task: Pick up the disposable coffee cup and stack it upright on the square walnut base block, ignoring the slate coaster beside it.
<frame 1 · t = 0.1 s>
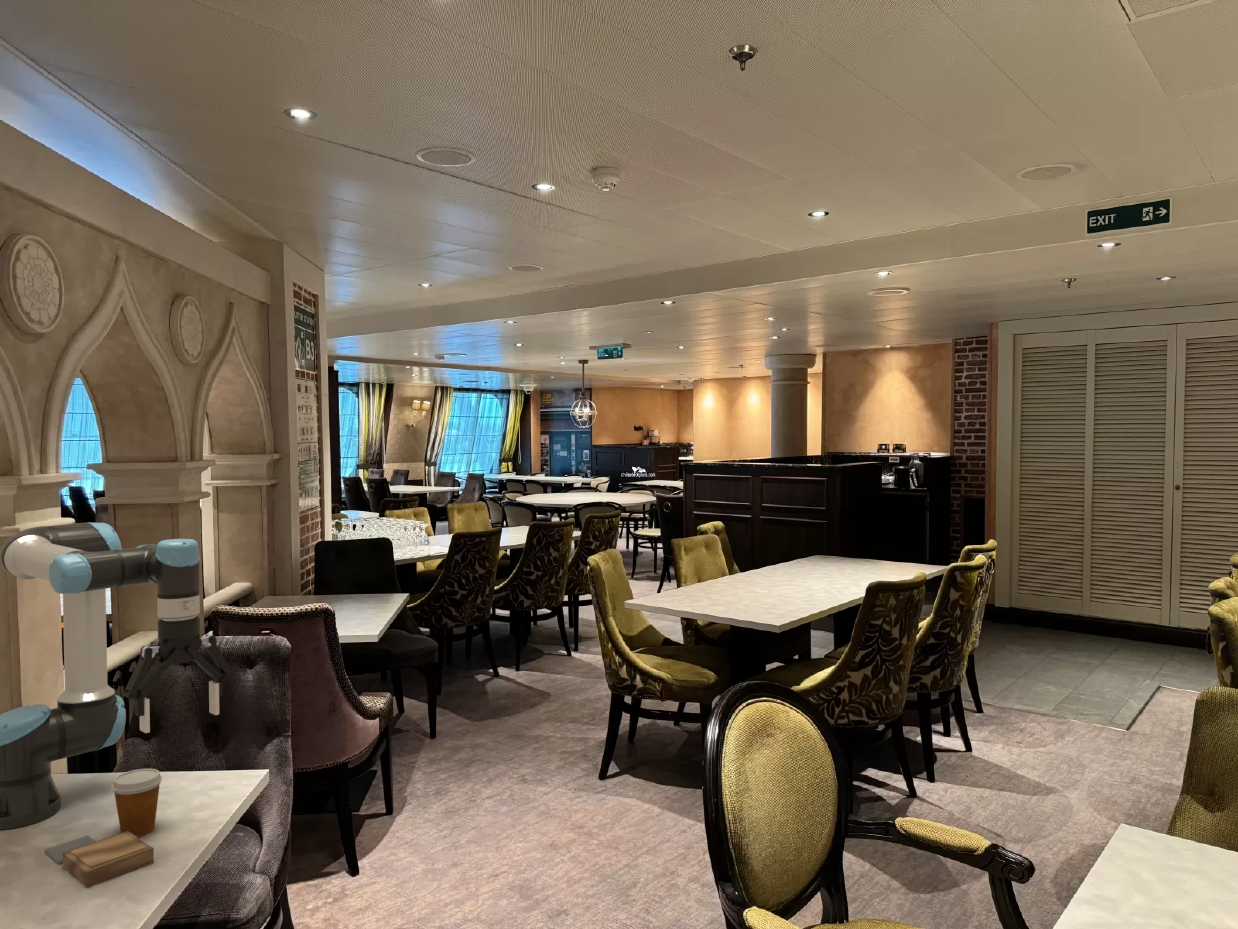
hand: (180, 722, 171), 28 cm above the table, fingers open, 13 cm apart
disposable coffee cup: (138, 832, 184), on the table
walnut base: (108, 865, 169), on the table
slate coaster: (73, 850, 175), on the table
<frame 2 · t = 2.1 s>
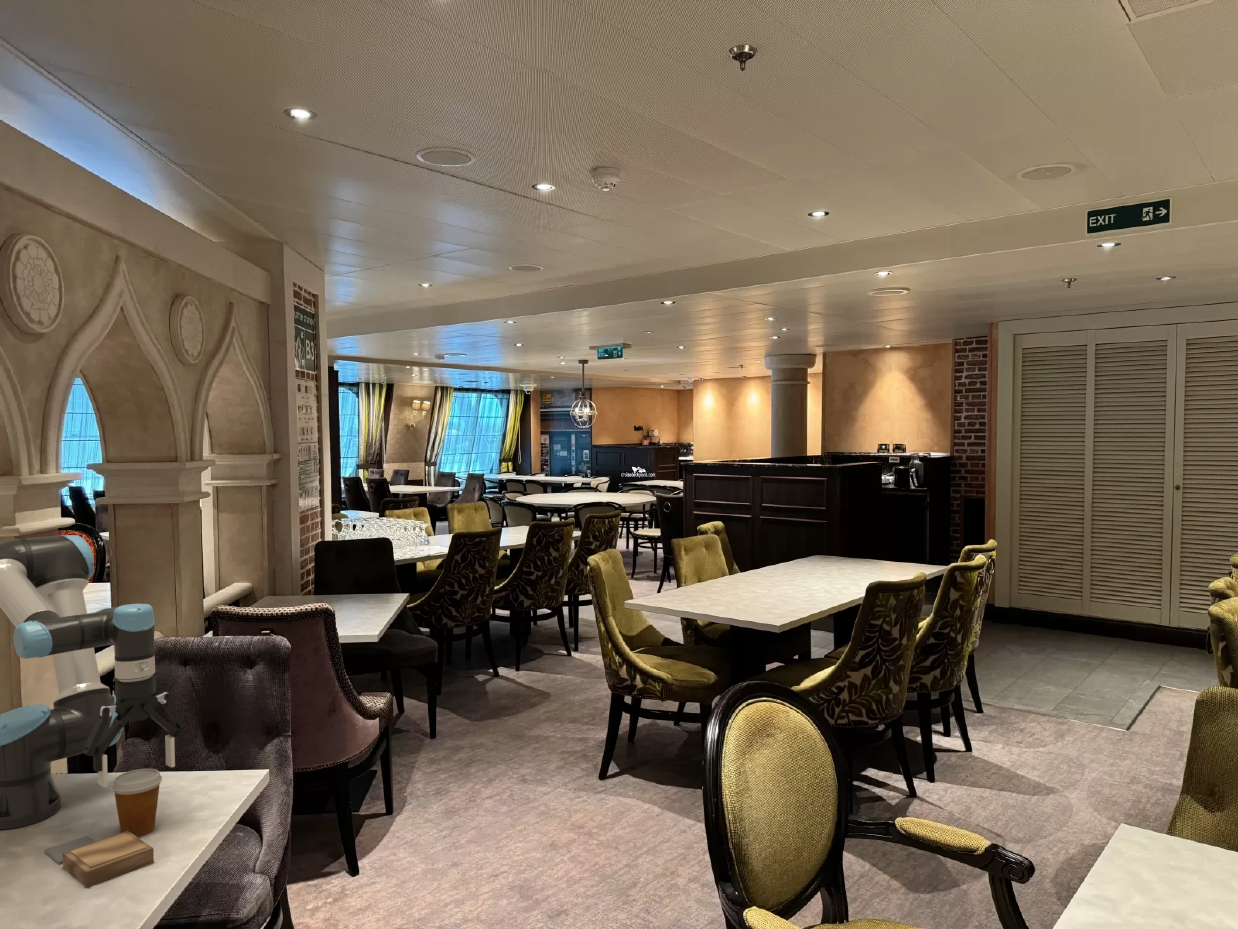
hand: (137, 775, 183), 12 cm above the table, fingers open, 13 cm apart
nothing on the table moved.
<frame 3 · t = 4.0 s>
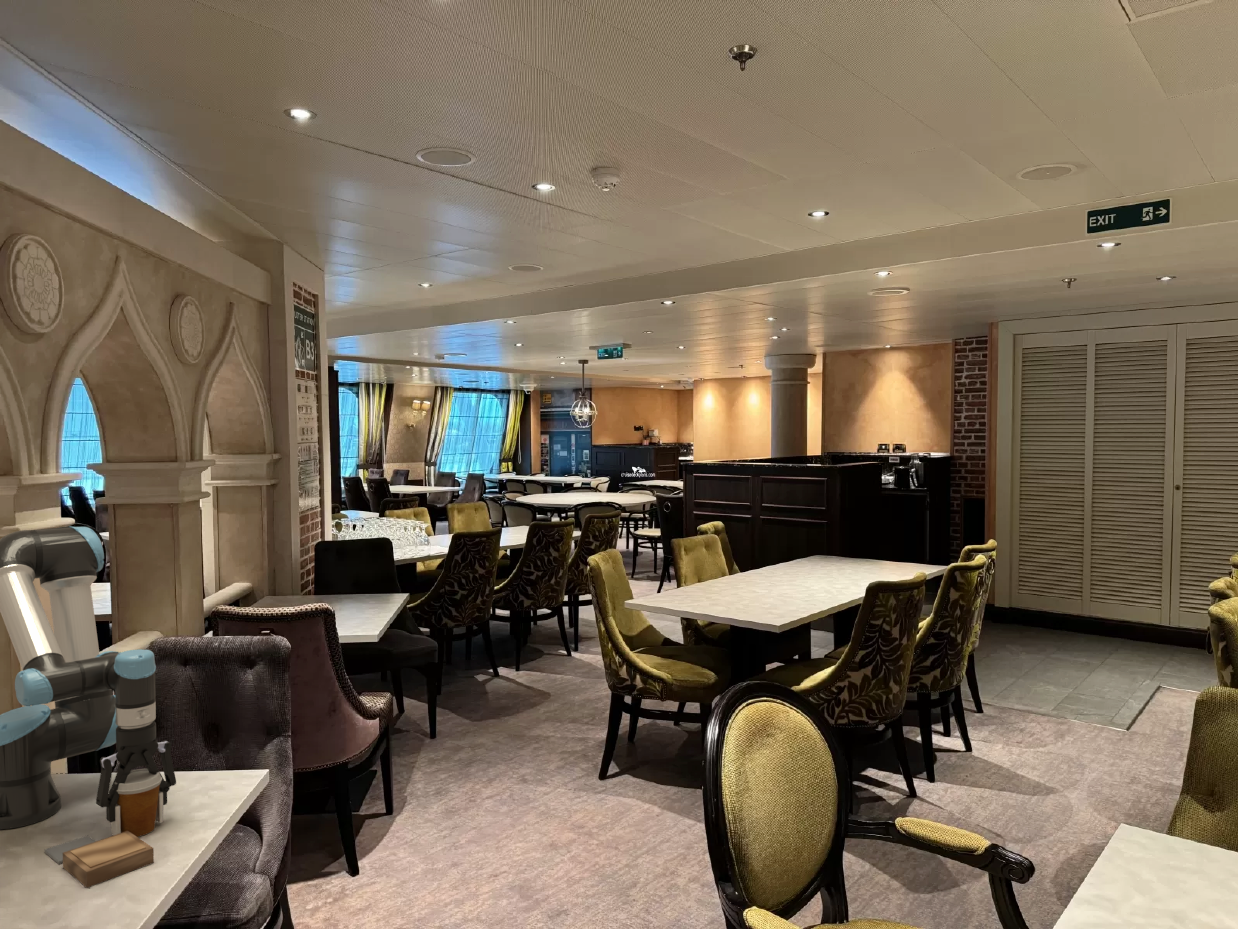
hand: (137, 827, 184), 1 cm above the table, fingers closed on disposable coffee cup, 8 cm apart
disposable coffee cup: (138, 832, 184), on the table, touching gripper
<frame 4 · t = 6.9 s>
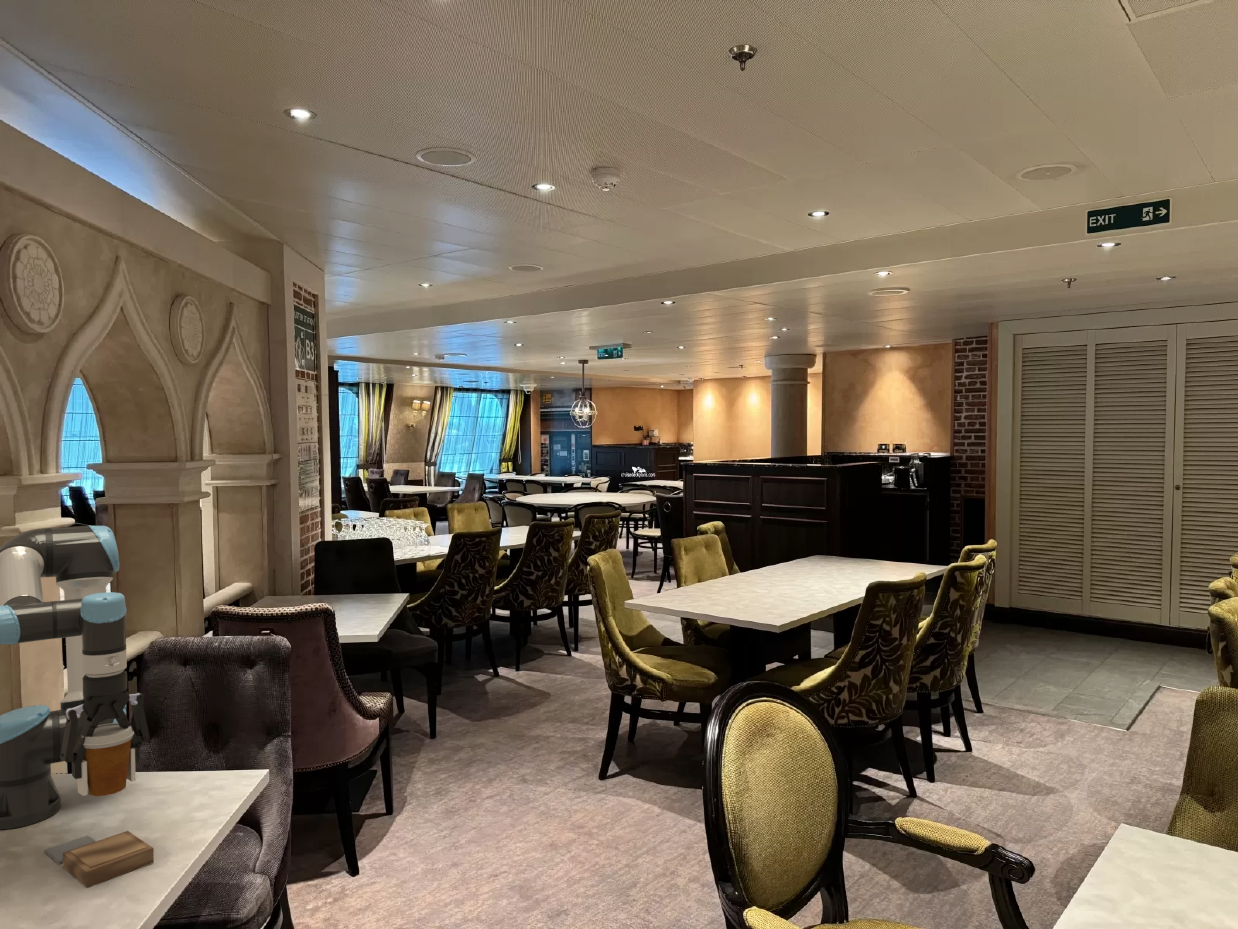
hand: (107, 786, 168), 16 cm above the table, fingers closed on disposable coffee cup, 8 cm apart
disposable coffee cup: (107, 791, 168), point 15 cm above the table, touching gripper
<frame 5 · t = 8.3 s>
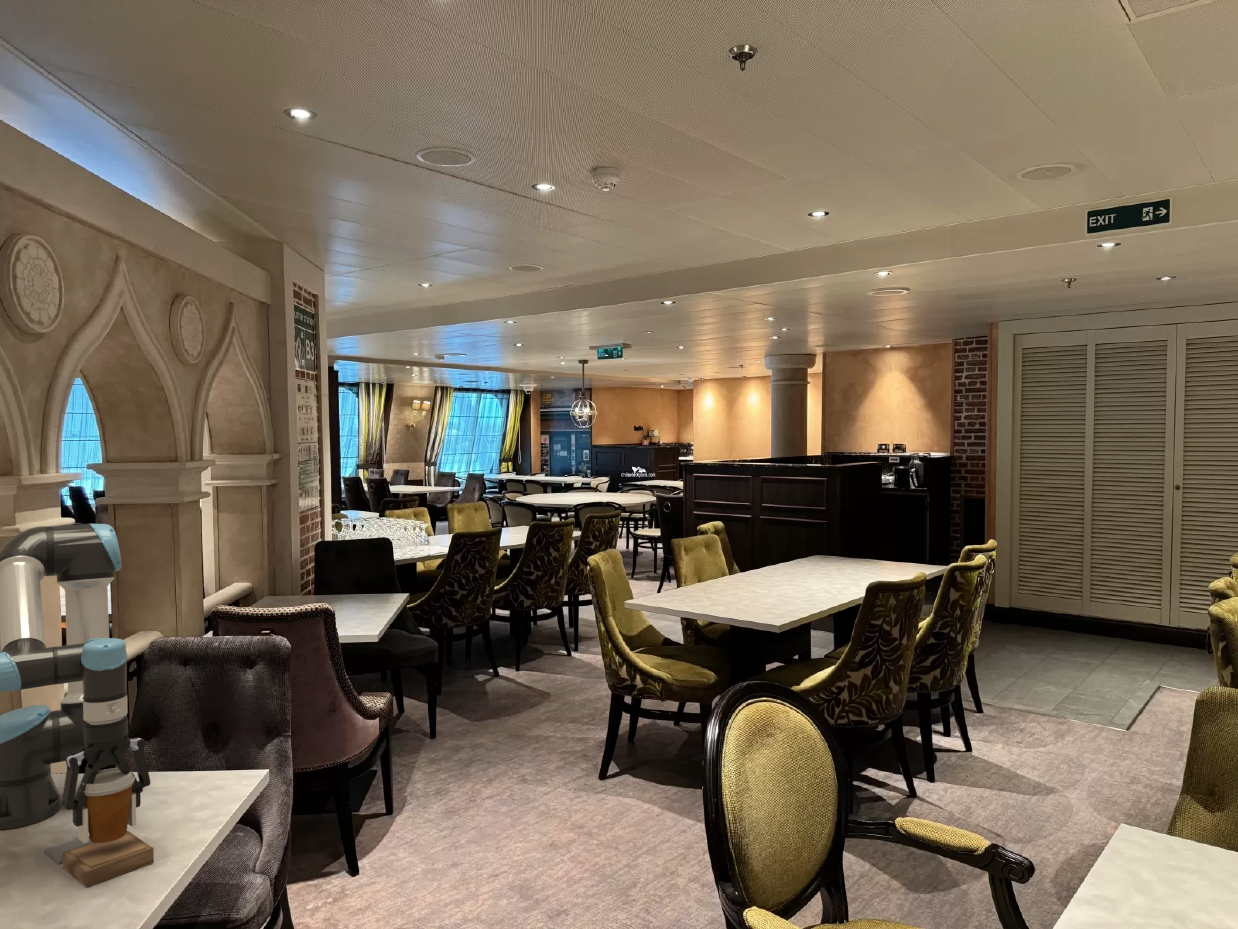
hand: (108, 832, 169), 7 cm above the table, fingers closed on disposable coffee cup, 8 cm apart
disposable coffee cup: (108, 837, 169), point 6 cm above the table, touching gripper
when the fingers open (5 cm above the table, at t = 9.6 s): disposable coffee cup stays where it is, resting on walnut base.
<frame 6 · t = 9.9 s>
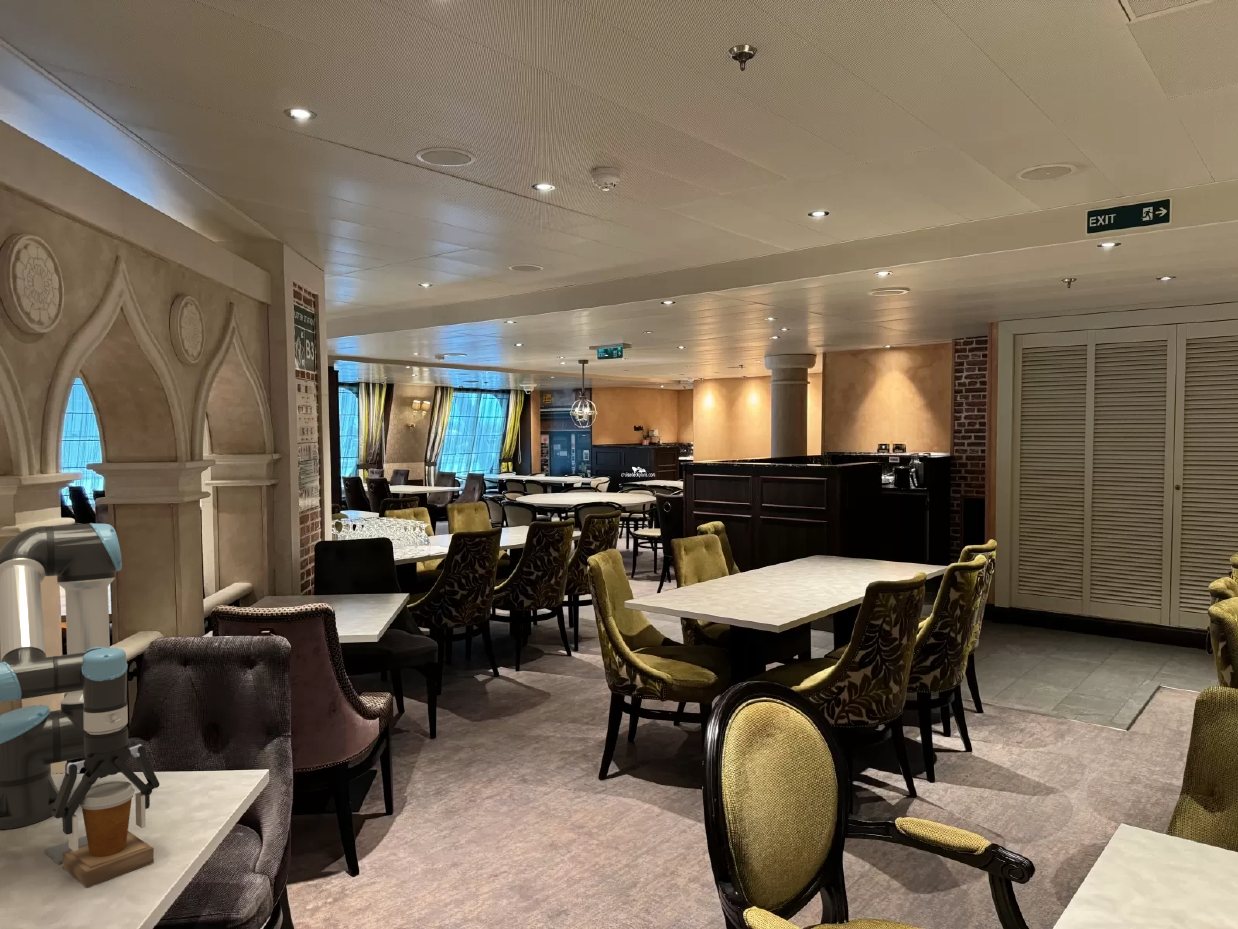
hand: (108, 837, 169), 6 cm above the table, fingers open, 11 cm apart
disposable coffee cup: (108, 850, 169), point 3 cm above the table, touching walnut base
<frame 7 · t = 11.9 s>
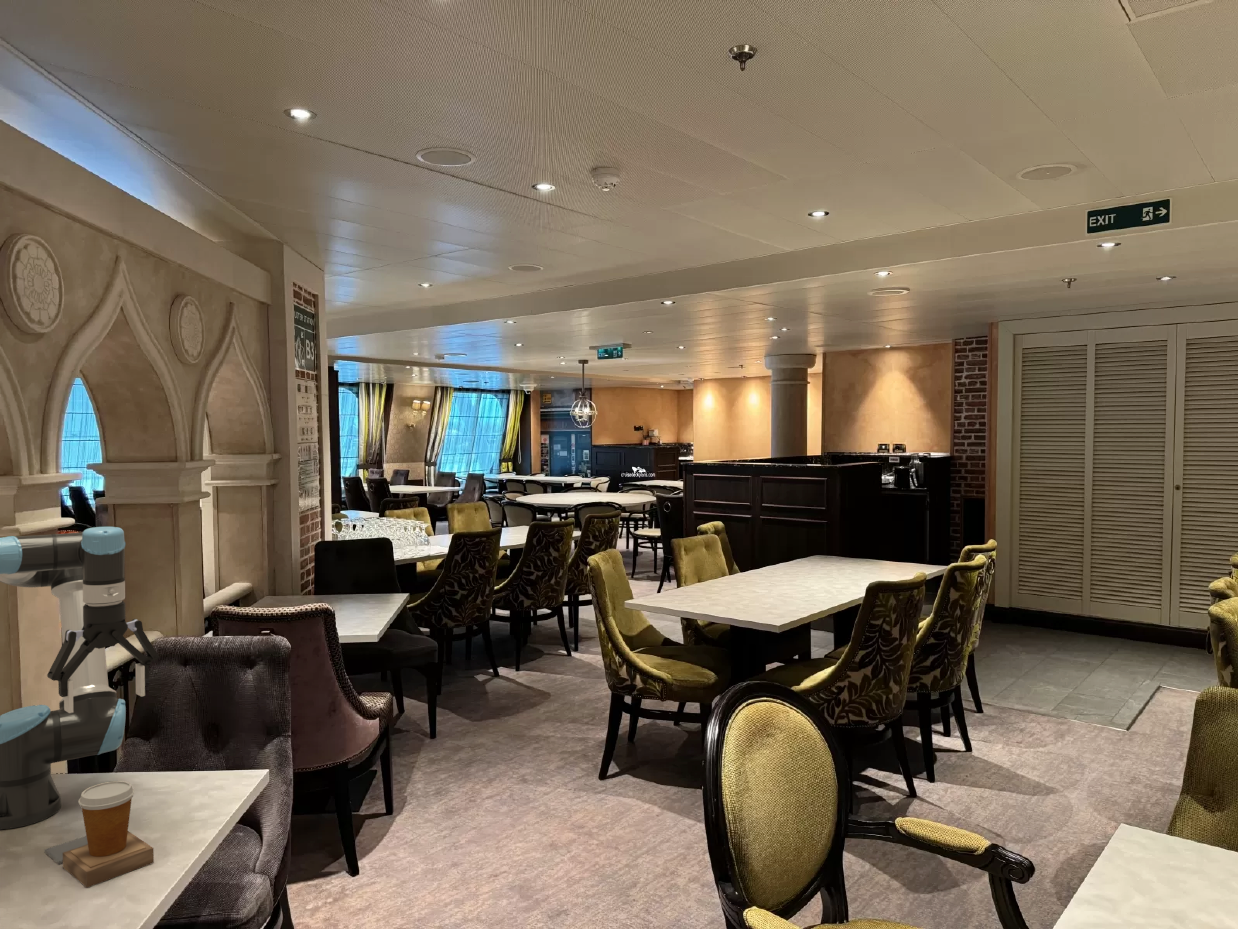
hand: (105, 703, 177), 30 cm above the table, fingers open, 13 cm apart
nothing on the table moved.
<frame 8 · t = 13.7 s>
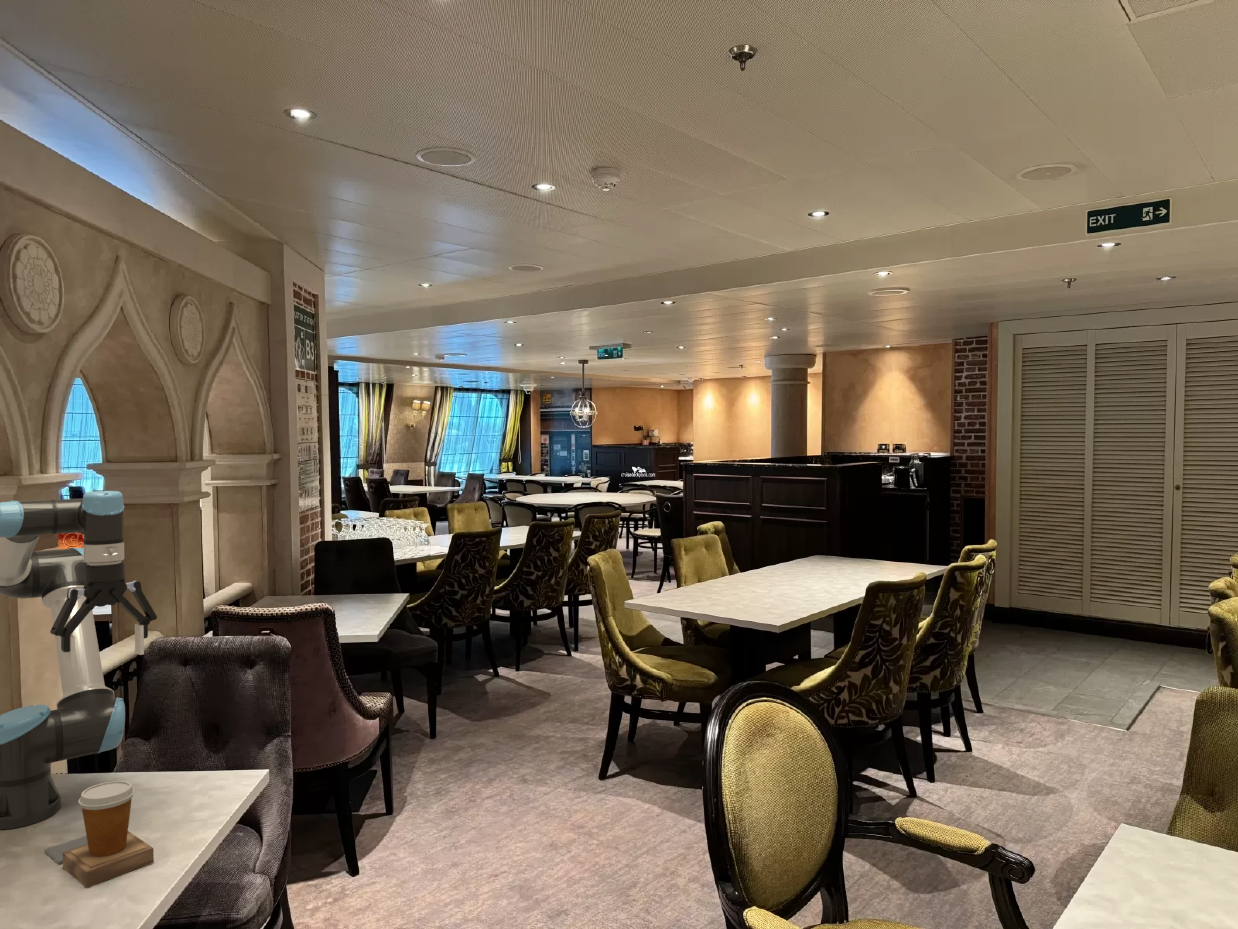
hand: (106, 660, 184), 37 cm above the table, fingers open, 13 cm apart
nothing on the table moved.
at the end: disposable coffee cup inside the target area on the walnut base (0.1 cm from its centre), point 3.1 cm above the walnut base's base; disposable coffee cup tilted 0°; the gripper is holding nothing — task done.
